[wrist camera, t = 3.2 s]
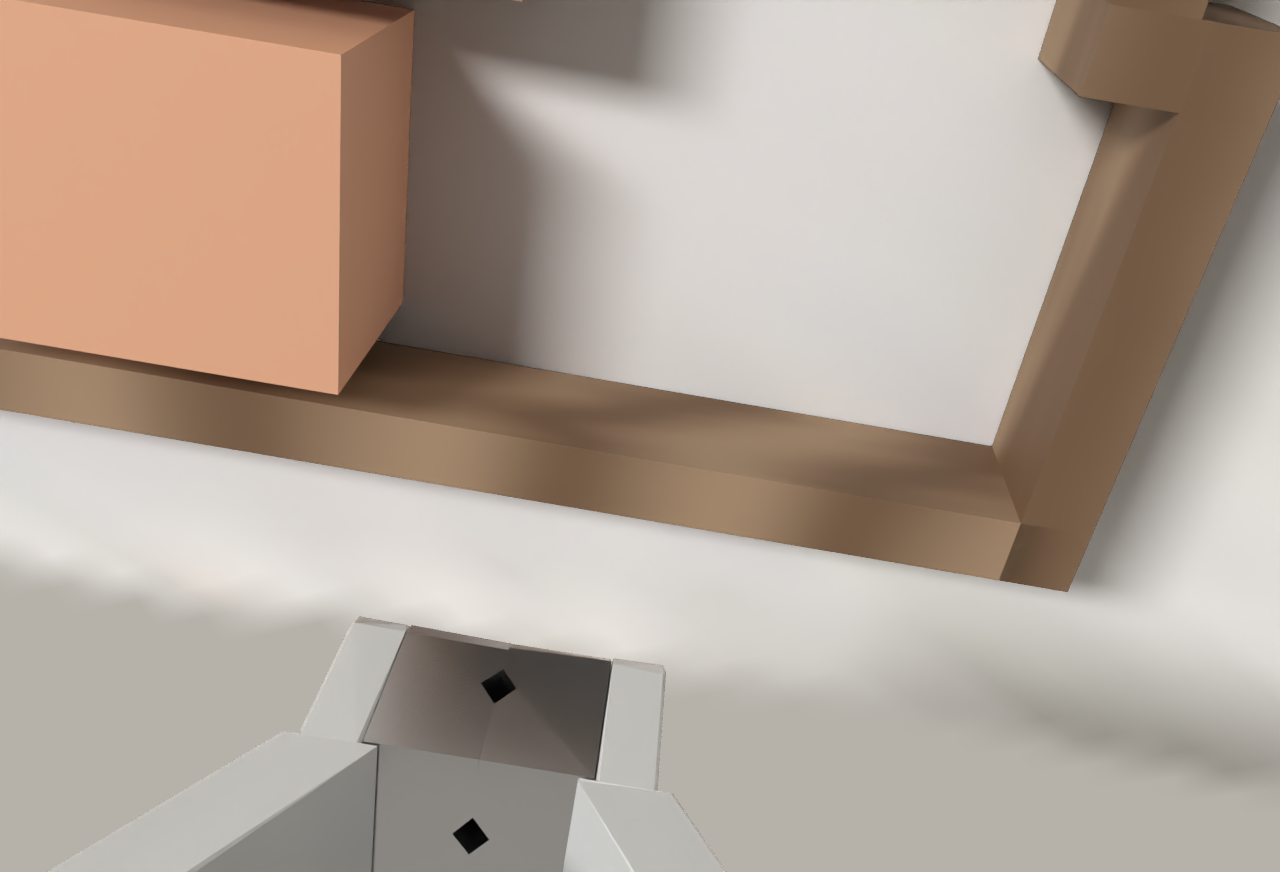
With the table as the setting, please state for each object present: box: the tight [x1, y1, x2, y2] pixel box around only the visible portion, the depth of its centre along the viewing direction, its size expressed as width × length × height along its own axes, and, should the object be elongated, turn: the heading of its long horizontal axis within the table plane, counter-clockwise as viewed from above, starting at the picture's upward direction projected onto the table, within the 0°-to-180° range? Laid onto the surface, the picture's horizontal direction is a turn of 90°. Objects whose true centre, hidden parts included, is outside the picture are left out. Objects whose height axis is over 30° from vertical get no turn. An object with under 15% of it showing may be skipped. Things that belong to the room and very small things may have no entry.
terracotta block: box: [0, 0, 414, 395], centre depth 21 cm, size 8×6×4 cm
